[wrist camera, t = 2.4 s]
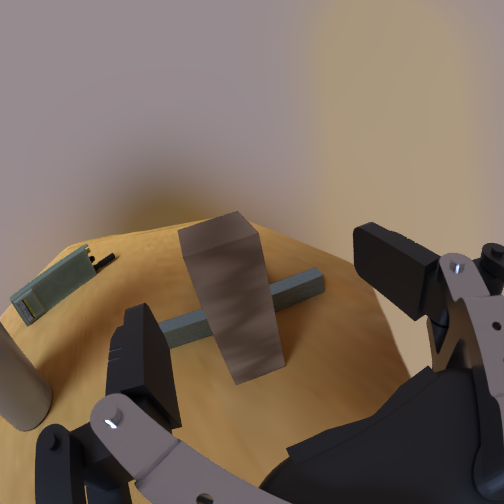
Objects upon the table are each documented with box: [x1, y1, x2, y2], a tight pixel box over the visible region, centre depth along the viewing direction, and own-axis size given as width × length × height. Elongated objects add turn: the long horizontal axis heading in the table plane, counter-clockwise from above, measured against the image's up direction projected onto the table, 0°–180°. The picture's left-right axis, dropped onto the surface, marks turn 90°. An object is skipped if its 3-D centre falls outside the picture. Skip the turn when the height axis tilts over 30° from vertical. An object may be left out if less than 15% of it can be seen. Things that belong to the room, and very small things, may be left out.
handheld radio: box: [10, 244, 115, 326], centre depth 44 cm, size 7×3×25 cm
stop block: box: [178, 211, 285, 385], centre depth 23 cm, size 5×5×14 cm
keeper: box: [158, 267, 324, 349], centre depth 35 cm, size 22×12×2 cm, turn 108°
